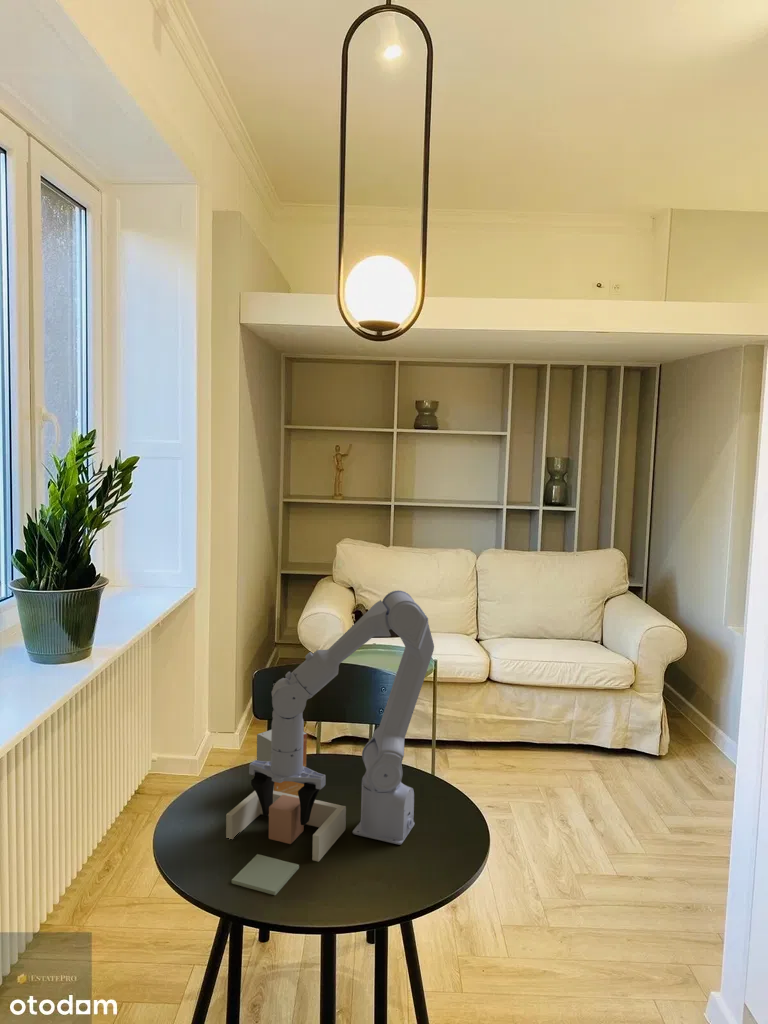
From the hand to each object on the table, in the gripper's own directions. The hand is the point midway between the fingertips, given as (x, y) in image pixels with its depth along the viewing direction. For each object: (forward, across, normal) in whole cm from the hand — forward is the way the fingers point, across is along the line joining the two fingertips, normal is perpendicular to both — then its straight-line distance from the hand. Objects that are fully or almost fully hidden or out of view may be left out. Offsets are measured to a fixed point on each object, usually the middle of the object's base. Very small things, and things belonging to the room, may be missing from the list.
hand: (286, 818), depth 132 cm
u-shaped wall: (+3, 0, 0) cm, 3 cm away
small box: (+3, -8, +13) cm, 15 cm away
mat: (+3, +3, -12) cm, 13 cm away
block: (+3, 0, 0) cm, 3 cm away
